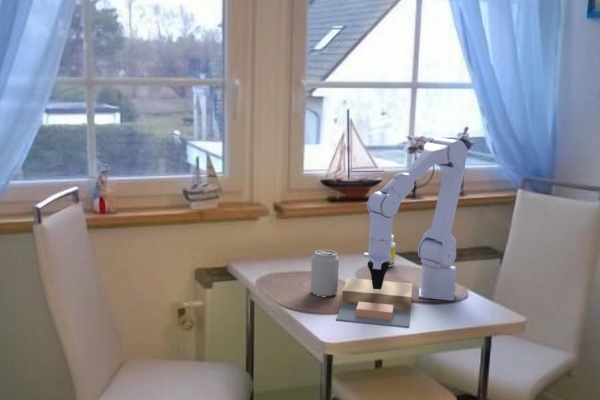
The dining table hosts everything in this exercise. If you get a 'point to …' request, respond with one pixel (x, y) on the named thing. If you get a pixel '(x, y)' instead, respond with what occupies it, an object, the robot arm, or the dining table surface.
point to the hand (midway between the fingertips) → (377, 288)
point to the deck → (377, 293)
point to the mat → (398, 318)
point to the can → (324, 273)
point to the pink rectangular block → (374, 310)
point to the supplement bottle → (392, 252)
